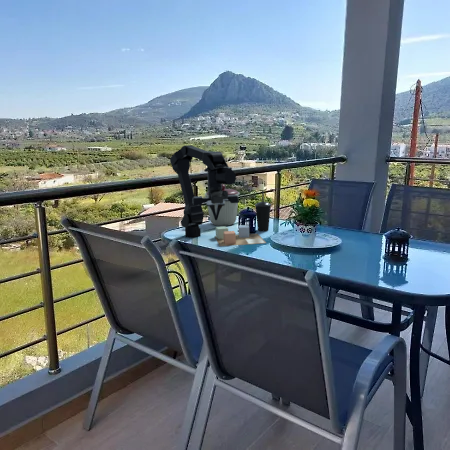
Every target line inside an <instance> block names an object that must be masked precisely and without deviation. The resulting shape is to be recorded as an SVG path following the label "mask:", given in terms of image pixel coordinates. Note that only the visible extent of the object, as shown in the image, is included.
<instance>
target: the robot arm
mask: <svg viewBox="0 0 450 450" xmlns="http://www.w3.org/2000/svg"><path fill="white" fill-rule="evenodd" d="M193 158H194V159H197V160H199V161H201V162H202V164H203V165H205V166H206V168H205V169H204V173H205V172H206V173H207V192H208V198H207V197H203V196H201V195H198V196H195V192H194V188H193V184H192V181H191V178H190V174H189V172H190V168H191V161H192V160H193ZM169 161H170V164H171V168H172V170H173V171H174V172H175V173H176V174H177V177H178V182H179V184H180V189H181V192H182V197H183V202H184V209H183V217H182V218H181V220H180V225H181V227H183V228H184V233H185V236H184V237H185V238H189V239H192V238H193V239H194V238H195V239H196V238H199V237H201V233H202V232H201V227H200V226H202V225H203V222H204V217H205V216H204V211H203V207H202V204H204V203H205V204H206V206H207V207H208V206H210V208H211V210H212V213H213V216H214V218H215V220H217V219H218V216H219V212H220V210H221V208H222V206H225V204H224V202H225V201H230V202H231V203H238V204H239V203H240V200H239V195H238V196H236V195H228V191H222V184H224V185H229V186H232V185H234V184H235V183H236V181H237V174H236V173H235V171H234V170H233V168H232V166H230V167H229V165H228V163H227V161H226V158H225V157H224V156H223V153H222V152H221V151H208V150H204V149H203V148H199V147H197V146H194V145H193V144H192V145H191V144H189V145H188V144H187V145H183V146H181V148H180V149H178V150H177V151H175V152H173V154H172V155H171V157H170V159H169ZM215 203H216V213H215V205H214V204H215Z"/></svg>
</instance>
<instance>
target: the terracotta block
mask: <svg viewBox="0 0 450 450" xmlns="http://www.w3.org/2000/svg"><path fill="white" fill-rule="evenodd" d="M236 235H237V234H236V232H235V230H228V231H224V243H225V244H236Z"/></svg>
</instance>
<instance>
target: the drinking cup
mask: <svg viewBox="0 0 450 450" xmlns="http://www.w3.org/2000/svg"><path fill="white" fill-rule="evenodd" d="M264 193H265V192H264V190H262V191H261V201H259V202H257V203H255V204H254V206H255V214H256V223H257V224H256V225H257V231H258V232H268V231H269V228H270V216H271V207H272V203H269V202H268V201H265V196H264Z"/></svg>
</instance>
